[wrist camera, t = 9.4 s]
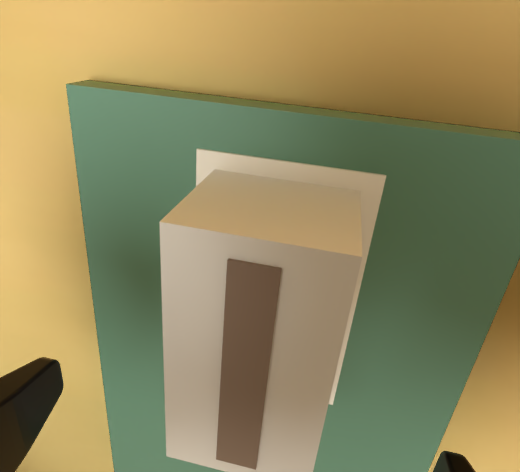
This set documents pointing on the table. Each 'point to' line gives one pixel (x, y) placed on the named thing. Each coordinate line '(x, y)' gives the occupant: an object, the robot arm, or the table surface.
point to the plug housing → (255, 318)
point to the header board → (370, 273)
